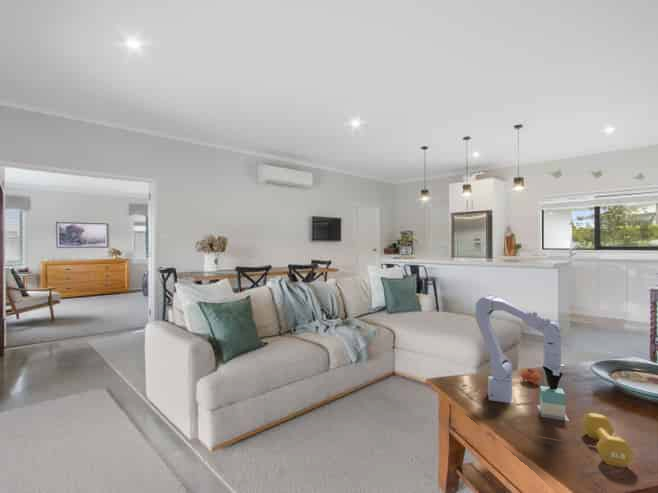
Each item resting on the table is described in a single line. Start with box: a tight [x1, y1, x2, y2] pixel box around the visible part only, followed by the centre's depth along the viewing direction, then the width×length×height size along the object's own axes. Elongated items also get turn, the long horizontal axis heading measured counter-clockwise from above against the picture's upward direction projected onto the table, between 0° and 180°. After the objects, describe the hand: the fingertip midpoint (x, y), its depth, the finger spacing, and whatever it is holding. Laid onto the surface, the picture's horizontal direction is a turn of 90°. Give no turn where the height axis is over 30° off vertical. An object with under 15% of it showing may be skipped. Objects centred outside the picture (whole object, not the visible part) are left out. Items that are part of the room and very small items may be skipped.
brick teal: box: [539, 385, 566, 407], centre depth 135 cm, size 8×5×4 cm, turn 67°
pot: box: [520, 368, 541, 386], centre depth 164 cm, size 8×8×7 cm
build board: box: [536, 404, 570, 422], centre depth 135 cm, size 9×10×1 cm
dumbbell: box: [580, 412, 635, 469], centre depth 111 cm, size 19×9×8 cm, turn 158°
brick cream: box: [539, 397, 566, 417], centre depth 135 cm, size 8×5×4 cm, turn 67°
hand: (552, 387), depth 135 cm, fingers open, 3 cm apart
